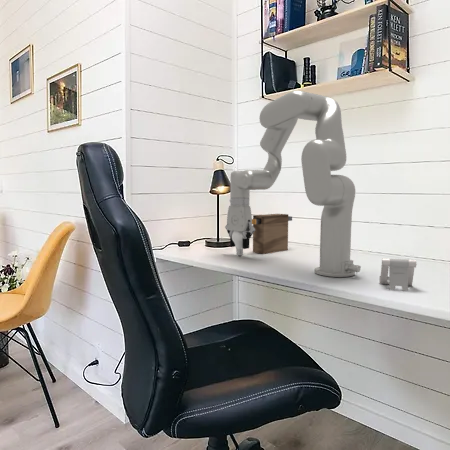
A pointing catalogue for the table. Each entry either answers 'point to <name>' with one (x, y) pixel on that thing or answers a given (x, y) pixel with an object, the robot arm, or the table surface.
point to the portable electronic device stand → (397, 273)
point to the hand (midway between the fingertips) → (239, 247)
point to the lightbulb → (238, 242)
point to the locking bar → (258, 221)
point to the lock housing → (270, 233)
